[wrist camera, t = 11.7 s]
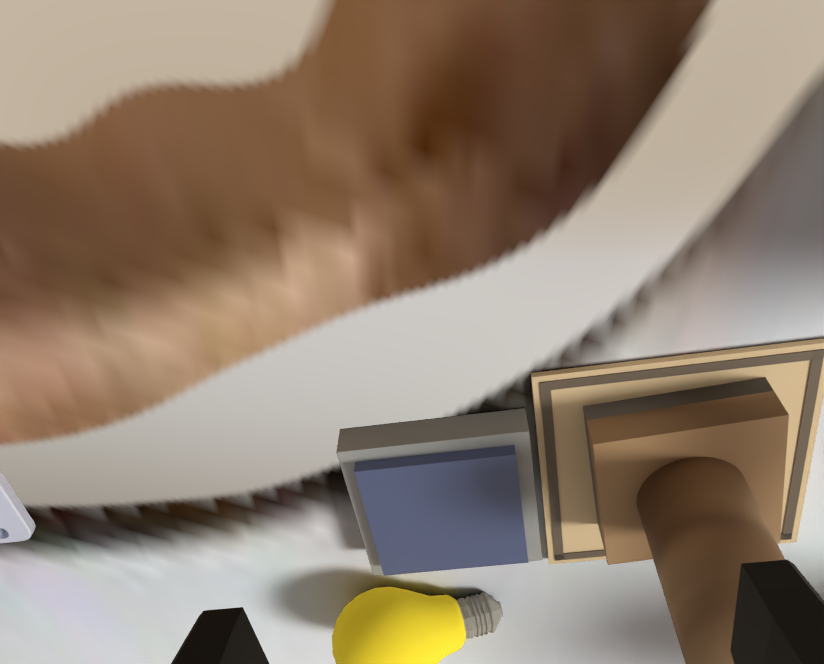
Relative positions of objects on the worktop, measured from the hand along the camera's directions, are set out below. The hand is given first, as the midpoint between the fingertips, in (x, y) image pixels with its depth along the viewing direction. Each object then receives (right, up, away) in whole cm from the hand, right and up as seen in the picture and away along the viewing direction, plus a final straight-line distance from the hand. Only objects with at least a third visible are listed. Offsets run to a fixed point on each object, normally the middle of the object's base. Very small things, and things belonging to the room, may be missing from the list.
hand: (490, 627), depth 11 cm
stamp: (+7, +1, +11) cm, 13 cm away
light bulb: (-1, -5, +16) cm, 17 cm away
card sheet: (+7, 0, +11) cm, 13 cm away
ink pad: (0, 0, +12) cm, 12 cm away
